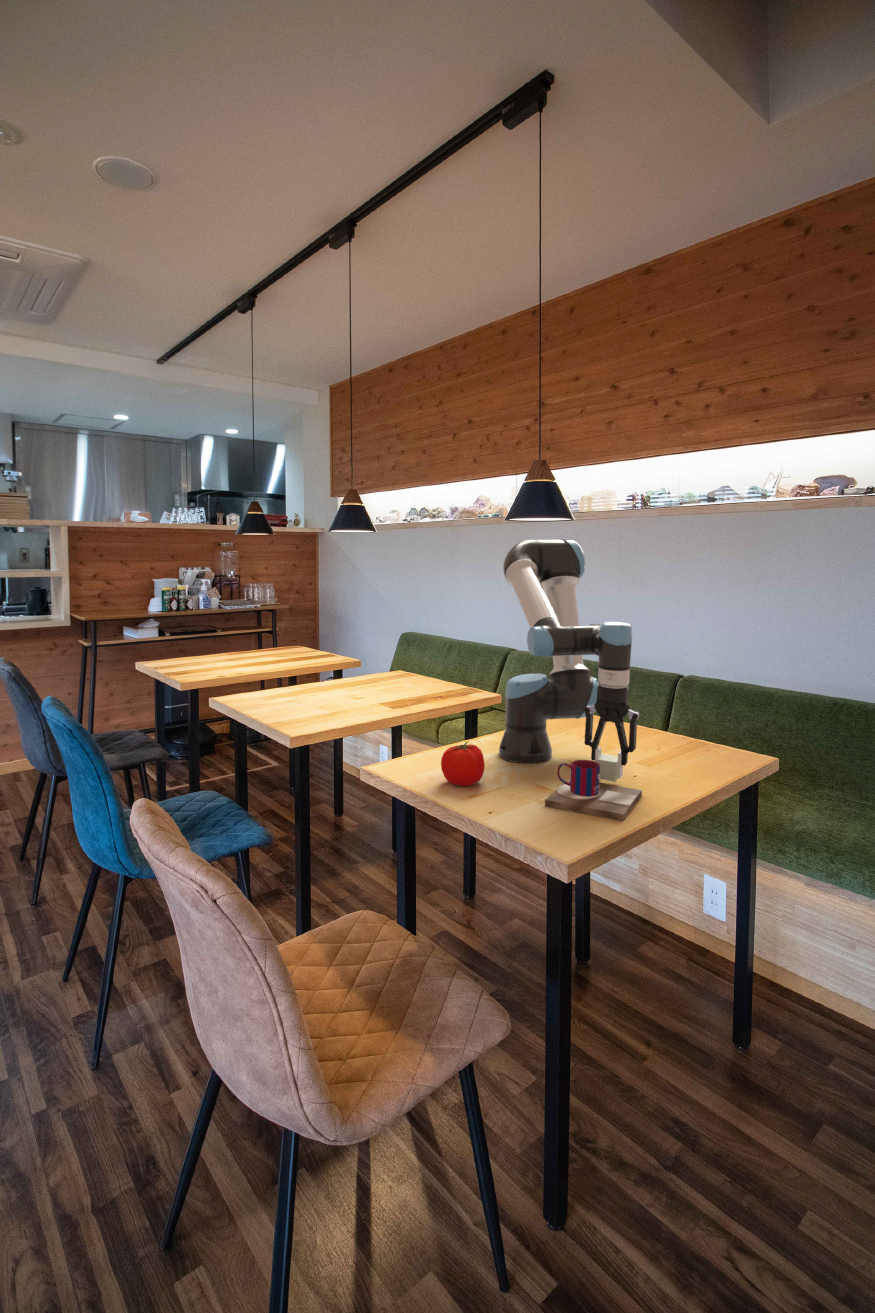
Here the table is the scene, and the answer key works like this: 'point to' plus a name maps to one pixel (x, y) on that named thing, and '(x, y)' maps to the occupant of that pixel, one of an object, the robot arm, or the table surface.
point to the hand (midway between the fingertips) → (608, 774)
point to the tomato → (463, 764)
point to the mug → (583, 777)
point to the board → (596, 801)
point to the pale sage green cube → (608, 767)
